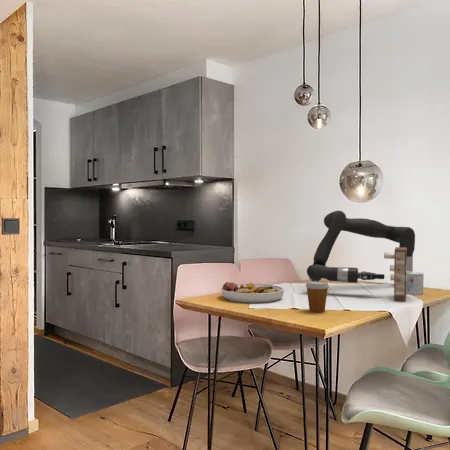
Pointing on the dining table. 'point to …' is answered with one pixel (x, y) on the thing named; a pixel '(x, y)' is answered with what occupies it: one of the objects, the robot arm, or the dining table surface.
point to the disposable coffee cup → (317, 295)
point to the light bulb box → (414, 283)
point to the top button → (389, 255)
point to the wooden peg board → (400, 274)
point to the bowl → (251, 292)
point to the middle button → (393, 267)
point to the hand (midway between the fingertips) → (384, 276)
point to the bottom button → (393, 277)
